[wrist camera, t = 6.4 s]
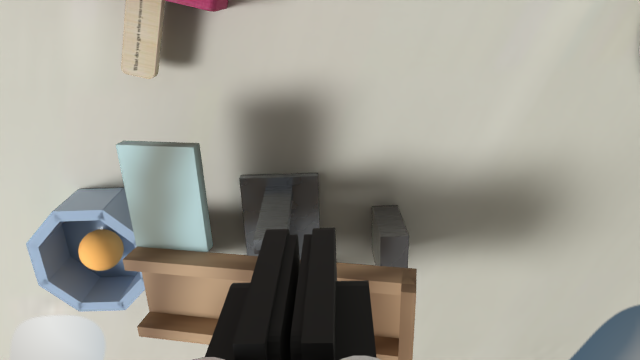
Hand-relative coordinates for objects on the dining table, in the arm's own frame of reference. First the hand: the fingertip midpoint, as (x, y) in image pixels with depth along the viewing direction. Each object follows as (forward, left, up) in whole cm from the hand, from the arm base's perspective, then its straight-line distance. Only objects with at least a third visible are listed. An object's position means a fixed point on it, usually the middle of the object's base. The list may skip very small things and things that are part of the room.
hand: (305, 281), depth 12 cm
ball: (+17, +12, -22) cm, 30 cm away
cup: (+17, +12, -25) cm, 32 cm away
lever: (+3, +8, -16) cm, 19 cm away
